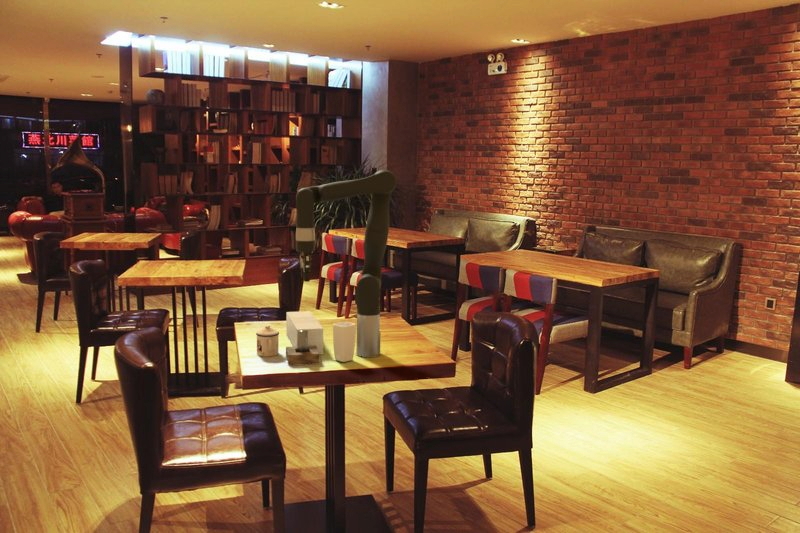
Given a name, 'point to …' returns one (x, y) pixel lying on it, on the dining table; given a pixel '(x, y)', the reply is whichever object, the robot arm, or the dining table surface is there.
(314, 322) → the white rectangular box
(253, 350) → the dining table surface
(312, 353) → the socket block
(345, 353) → the cup
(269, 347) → the teacup with lid
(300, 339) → the metal pin
